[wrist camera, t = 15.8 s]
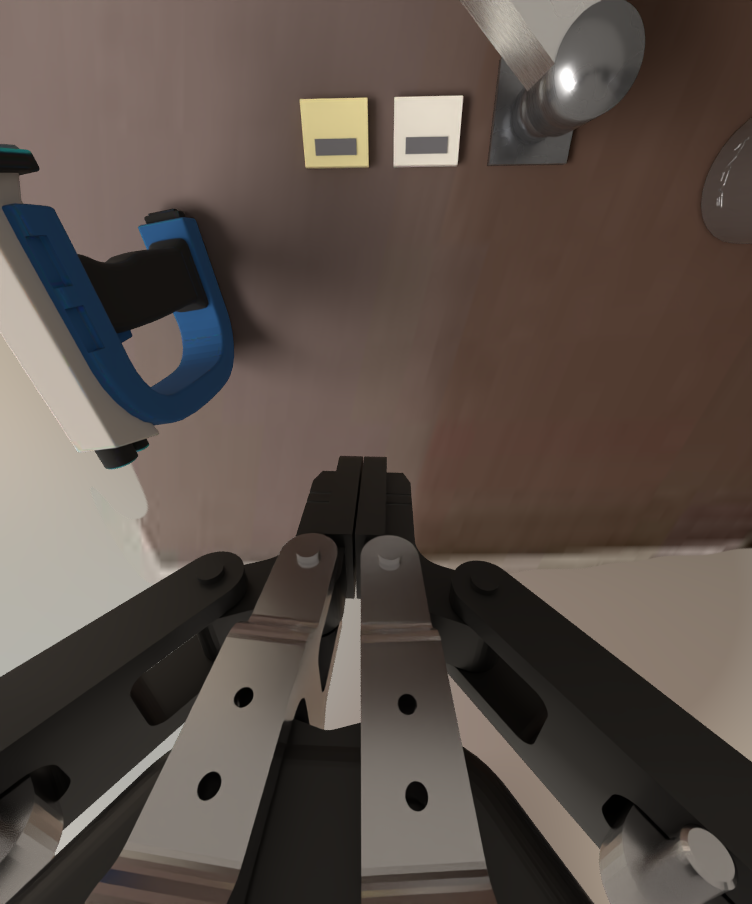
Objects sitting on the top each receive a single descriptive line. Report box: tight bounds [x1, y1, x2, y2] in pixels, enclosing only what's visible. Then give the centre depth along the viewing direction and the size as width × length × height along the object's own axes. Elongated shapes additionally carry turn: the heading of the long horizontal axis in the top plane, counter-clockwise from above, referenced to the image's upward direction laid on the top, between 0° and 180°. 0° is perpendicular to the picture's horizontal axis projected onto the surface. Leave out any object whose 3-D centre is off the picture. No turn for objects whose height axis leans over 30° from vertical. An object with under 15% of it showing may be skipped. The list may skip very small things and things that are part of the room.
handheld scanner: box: [0, 144, 234, 469], centre depth 26 cm, size 5×16×20 cm, turn 9°
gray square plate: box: [487, 57, 573, 166], centre depth 26 cm, size 6×6×5 cm
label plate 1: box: [300, 98, 369, 169], centre depth 28 cm, size 5×4×1 cm
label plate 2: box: [394, 96, 463, 167], centre depth 28 cm, size 5×4×1 cm
